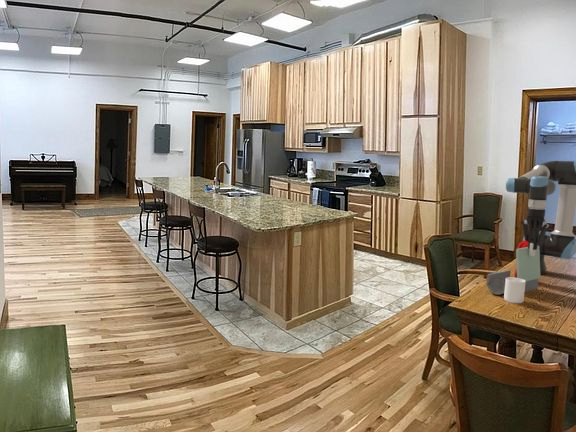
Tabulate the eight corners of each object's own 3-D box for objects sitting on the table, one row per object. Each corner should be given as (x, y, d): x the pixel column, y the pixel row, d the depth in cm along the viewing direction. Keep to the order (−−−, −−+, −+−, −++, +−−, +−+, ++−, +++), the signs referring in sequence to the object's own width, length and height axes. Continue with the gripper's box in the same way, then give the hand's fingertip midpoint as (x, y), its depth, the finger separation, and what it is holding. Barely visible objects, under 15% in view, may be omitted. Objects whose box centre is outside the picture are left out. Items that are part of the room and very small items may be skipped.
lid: (537, 245, 226) (539, 245, 225) (538, 277, 227) (540, 278, 226) (516, 249, 217) (518, 249, 216) (517, 282, 218) (519, 282, 217)
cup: (503, 301, 208) (505, 280, 206) (503, 294, 218) (505, 274, 217) (523, 304, 204) (525, 283, 203) (522, 297, 215) (525, 276, 213)
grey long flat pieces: (507, 280, 242) (508, 269, 241) (537, 289, 228) (538, 277, 227) (486, 285, 233) (487, 274, 232) (516, 294, 219) (517, 282, 218)
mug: (512, 283, 223) (514, 285, 213) (505, 297, 224) (506, 300, 214) (491, 273, 226) (492, 275, 217) (484, 287, 227) (485, 289, 218)
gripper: (519, 207, 220) (514, 253, 223) (545, 210, 209) (540, 259, 212) (528, 206, 224) (523, 252, 227) (554, 209, 213) (549, 257, 216)
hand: (531, 255), depth 220 cm, fingers closed
